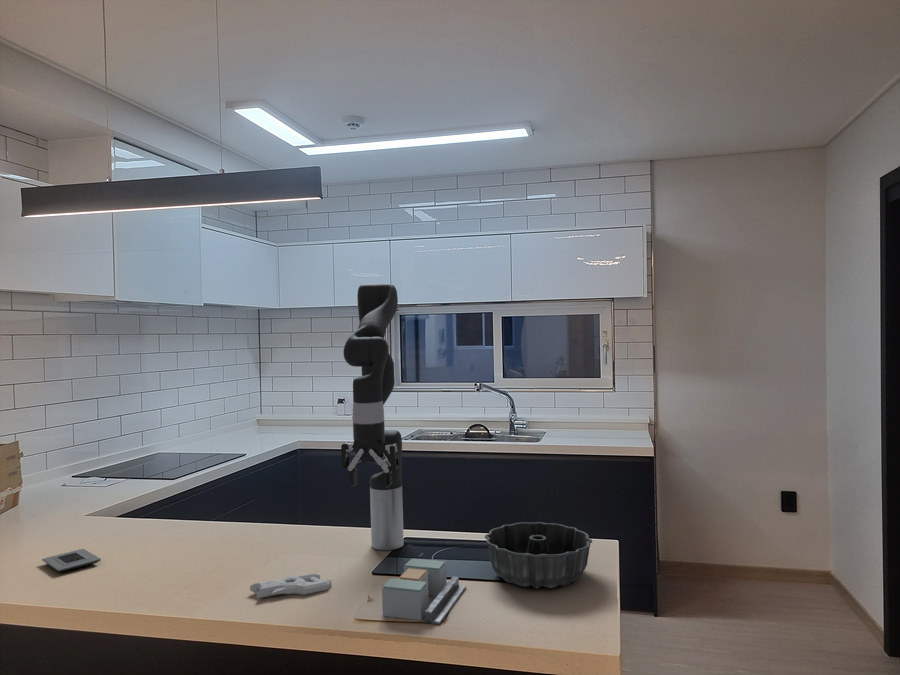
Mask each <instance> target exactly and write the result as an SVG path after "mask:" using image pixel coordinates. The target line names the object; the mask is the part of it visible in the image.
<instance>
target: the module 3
mask: <svg viewBox="0 0 900 675" xmlns="http://www.w3.org/2000/svg"><path fill="white" fill-rule="evenodd" d="M408 568H411V569H421V570H427V572H428V591H429V596H433V597H434V596H435V597H437V596H438V594H439V593H440V592H441V591H442V589H443V588H444V587H445V586H446V584H447V583H448V582H447V580H448V579H447V578H448V577H447V563H446V561H445V560H435V559H434V560H431V559H422V558H421V559H419V558H410V560H409V561H408V562H406V563H405V564H404V567H403V573H404V572H405V571H406V570H407V569H408Z"/></svg>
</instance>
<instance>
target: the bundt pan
mask: <svg viewBox="0 0 900 675" xmlns="http://www.w3.org/2000/svg"><path fill="white" fill-rule="evenodd" d="M484 539H485V540H486V545H487V549H488V556H489V559H490V564H491V566H492V569H493V571H494V572H495V574H497V576H499V577H500V578H502V579H503V580H504V581H505V582H506V583H508V584H516V585H517V586H520V587H525V588H526V587H529V586H532V587H533V588H534V589H535V590H538V589H539V588H541V587H543V588H544V587H545V588H547V589H555V588H556V587H558V586H560V587H566V586H568V585H570V584H571V583H572V582H575V581H576V580H578V579H579V578H580V577H581V576H582V575H583V573H584V571H585V569H586V568H587V566H588V560H589V554H590V547H591V543H593V539H592V538H590V536H589V534H588V533H586V532H585V531H582V530H579V529H578V528H576V527H573V526H568V525H564V524H562V523H561V524H559V523H554V522H551V523H550V522H549V523H546V522H542V521H536V522H525V521H524V522H515V523H512V524H502V526H500V527H494V528H492V529H490V530H489V531H488V533H487V534H485V535H484Z"/></svg>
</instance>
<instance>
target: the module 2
mask: <svg viewBox="0 0 900 675" xmlns="http://www.w3.org/2000/svg"><path fill="white" fill-rule="evenodd" d="M429 596H430V595H428V584H427V582H422V581H412V580H402V579H399V578H390V579H389V580H388V581H387V582H386V583H385V584H384V585H383V586H382V589H381V600H382V601H381V602H382V603H381V605H382V616H383V617H389V618H398V619H406V620H407V619H409V620H415V621H422V620H423V619H424V618H425V611H426V609H427V608H428V607H429V606H430V602H429V601H430V600H429V598H430V597H429Z"/></svg>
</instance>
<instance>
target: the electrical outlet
mask: <svg viewBox="0 0 900 675" xmlns="http://www.w3.org/2000/svg"><path fill="white" fill-rule="evenodd" d="M101 560H102V559H101V558H100V557H98V556H97V555H95V554H93V553H91V552H90V551H89V550H87V549H85V548H80V549H79V548H78V549H76V550H72V551H68V552H64V553H60V554H56V555H52V556H48V557H44V558H41V561H43V562H44V563H45V564H47V565H48V566H50V567H51V568H53V569H54V570H56V571H57V572H58V573H64V572H68V571H71V570H76V569H79V568H83V567H87V566H89V565H90V566H91V565H93V564H97V563H99V562H100V561H101Z"/></svg>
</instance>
